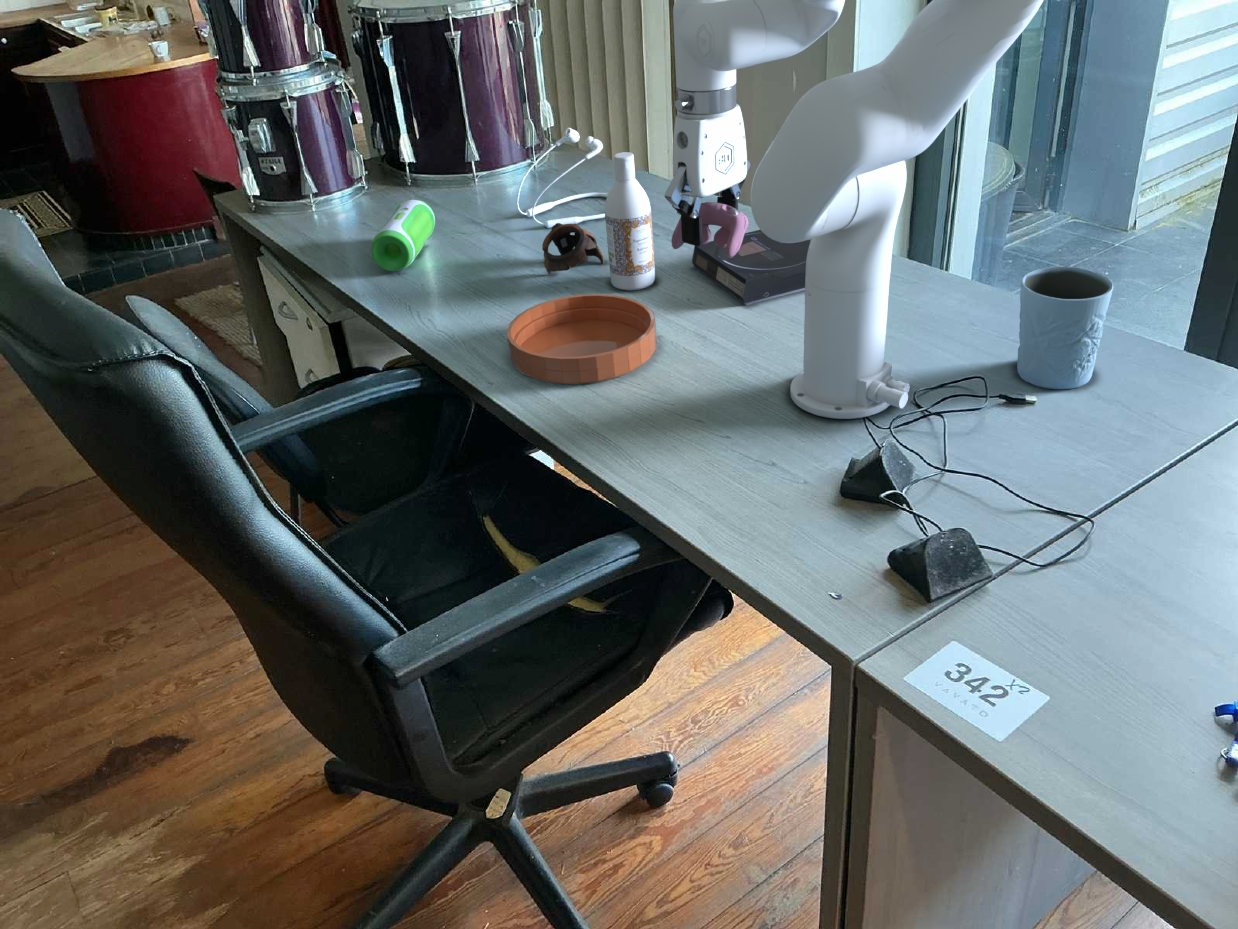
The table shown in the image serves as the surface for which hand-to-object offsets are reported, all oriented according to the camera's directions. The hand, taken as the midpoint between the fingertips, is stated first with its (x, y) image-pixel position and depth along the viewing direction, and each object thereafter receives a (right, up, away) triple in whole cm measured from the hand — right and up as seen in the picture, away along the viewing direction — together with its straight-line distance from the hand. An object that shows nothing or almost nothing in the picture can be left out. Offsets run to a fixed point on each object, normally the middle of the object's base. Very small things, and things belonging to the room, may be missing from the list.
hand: (710, 234), depth 140 cm
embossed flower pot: (+41, -20, -12) cm, 47 cm away
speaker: (-49, +5, +40) cm, 63 cm away
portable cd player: (+10, -2, +21) cm, 23 cm away
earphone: (-21, +15, +52) cm, 58 cm away
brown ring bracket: (-20, +1, +30) cm, 36 cm away
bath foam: (-10, -3, +22) cm, 24 cm away
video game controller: (0, -2, +1) cm, 2 cm away
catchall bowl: (-17, -15, +3) cm, 23 cm away
